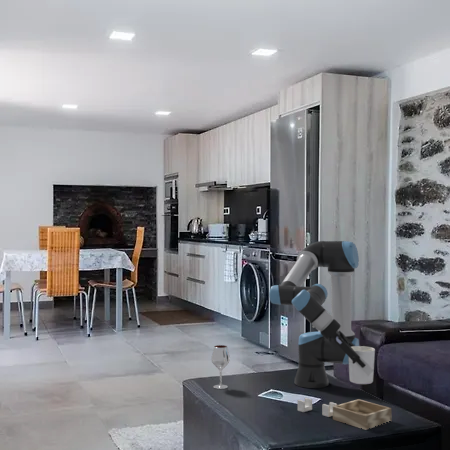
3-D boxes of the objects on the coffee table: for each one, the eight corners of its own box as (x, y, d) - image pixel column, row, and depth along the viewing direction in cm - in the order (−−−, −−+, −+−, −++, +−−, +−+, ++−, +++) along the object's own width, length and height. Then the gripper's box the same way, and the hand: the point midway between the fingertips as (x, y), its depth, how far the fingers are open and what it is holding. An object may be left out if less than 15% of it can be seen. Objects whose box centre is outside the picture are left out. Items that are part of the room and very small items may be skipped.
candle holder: (375, 385, 219) (375, 352, 219) (347, 384, 221) (347, 350, 221) (374, 378, 228) (374, 346, 228) (347, 377, 230) (347, 345, 230)
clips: (311, 406, 242) (311, 396, 242) (337, 414, 232) (337, 403, 232) (297, 410, 237) (297, 400, 237) (323, 418, 227) (323, 407, 227)
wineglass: (218, 383, 277) (218, 344, 277) (233, 386, 272) (233, 346, 272) (207, 387, 270) (207, 346, 270) (222, 390, 265) (222, 349, 265)
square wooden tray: (358, 411, 235) (358, 399, 235) (391, 421, 224) (391, 408, 224) (332, 419, 226) (332, 406, 226) (365, 429, 214) (365, 416, 214)
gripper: (320, 327, 238) (361, 369, 235) (318, 337, 217) (364, 384, 214) (334, 313, 237) (376, 356, 234) (333, 322, 216) (379, 369, 213)
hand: (370, 369), depth 224 cm, fingers closed on candle holder, 9 cm apart
